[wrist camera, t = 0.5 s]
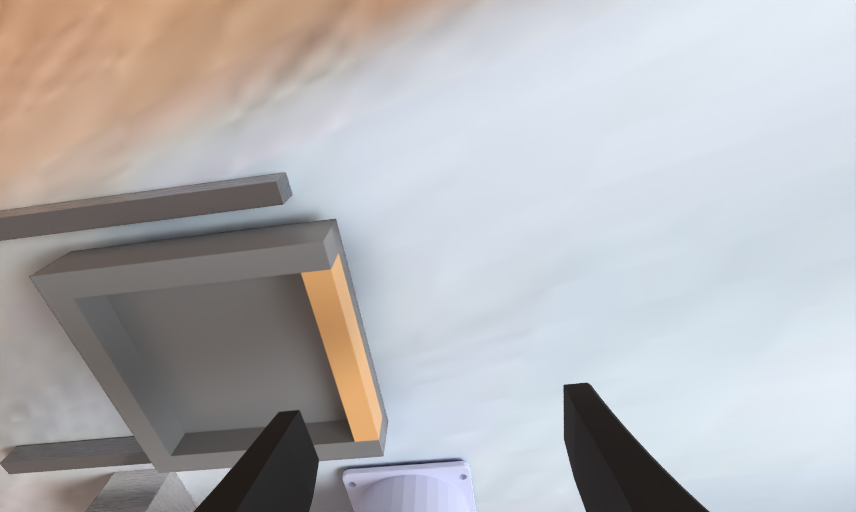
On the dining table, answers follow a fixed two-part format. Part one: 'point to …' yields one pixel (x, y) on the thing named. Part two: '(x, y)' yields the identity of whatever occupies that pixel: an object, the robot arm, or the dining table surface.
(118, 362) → the grey shallow tray
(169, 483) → the metal part
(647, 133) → the dining table surface
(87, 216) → the track
